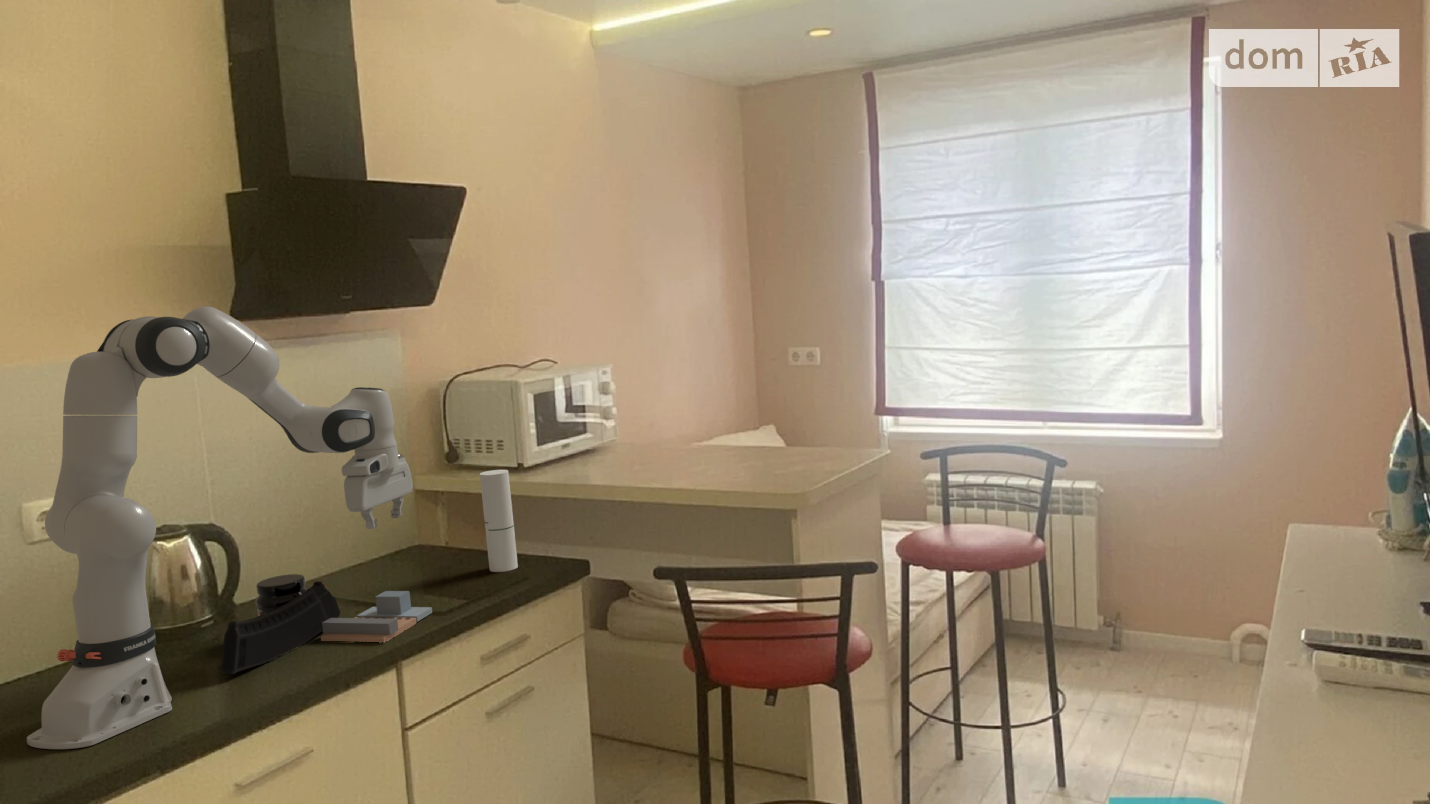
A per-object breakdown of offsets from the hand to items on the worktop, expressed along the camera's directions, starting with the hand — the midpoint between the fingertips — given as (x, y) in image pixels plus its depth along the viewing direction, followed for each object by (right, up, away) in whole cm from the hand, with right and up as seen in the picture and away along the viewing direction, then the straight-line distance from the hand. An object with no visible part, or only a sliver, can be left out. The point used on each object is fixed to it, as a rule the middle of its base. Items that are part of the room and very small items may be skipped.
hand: (384, 522), depth 216 cm
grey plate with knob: (+2, -21, +2) cm, 22 cm away
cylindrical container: (+18, -16, +37) cm, 45 cm away
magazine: (-15, -25, -14) cm, 32 cm away
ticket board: (-1, -22, -7) cm, 23 cm away
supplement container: (-20, -24, -4) cm, 31 cm away
